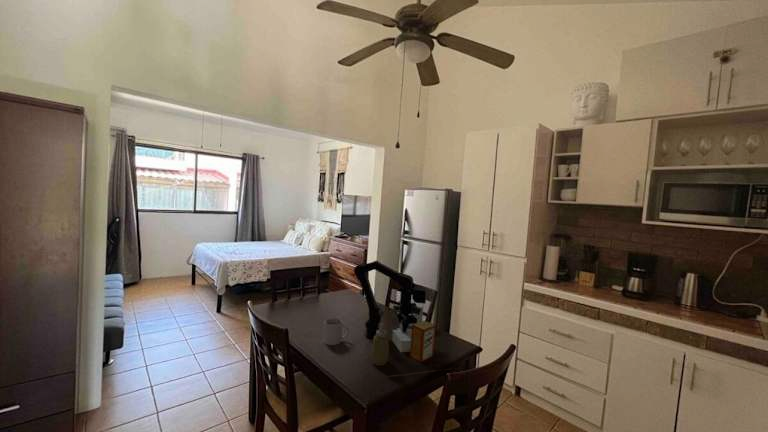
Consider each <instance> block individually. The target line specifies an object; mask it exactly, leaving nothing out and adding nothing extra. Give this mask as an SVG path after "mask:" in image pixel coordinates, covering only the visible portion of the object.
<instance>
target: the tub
mask: <svg viewBox="0 0 768 432" xmlns="http://www.w3.org/2000/svg"><path fill="white" fill-rule="evenodd" d="M392 342H393V344H394V345H395V346H396V347H397V349H398V350H399V352H400V353H408V352H409V353H410V348H411V342H406V343H401V342H400V340H399V339H398V338H397V337H396V335H395V334H394V333H393V332H392Z"/></svg>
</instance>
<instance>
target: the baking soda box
mask: <svg viewBox="0 0 768 432" xmlns="http://www.w3.org/2000/svg"><path fill="white" fill-rule="evenodd" d="M436 327H437V325H436V324H434V323H433V322H429V321H427V320H422V322H419V323H416V324H414V325H412V327H411V329H412V335H411V348H410V351H409V357H410V358H412V359H414V360H416V361H418V362H419V363H422V362H425V361H427V360H428V359H430V358H432V357H434V351H435V349H434V348H435V340H436V339H435V338H436Z"/></svg>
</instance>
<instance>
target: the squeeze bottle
mask: <svg viewBox="0 0 768 432" xmlns="http://www.w3.org/2000/svg"><path fill="white" fill-rule="evenodd" d="M387 333H388V332H387V331H386V330H385V325H384V323H383V322H380V325H379V330H377V331H376V335H375V336H374V338H373V339H372V346H371V351H370V358H371V362H372V364H373V365H375V366H378V367H379V366H385V365H386V364H387V362H388V360H389V356H390V353H389V351H390V350H389V349H390V348H389V347H390V346H389V344H390V343H389V336H388V334H387Z"/></svg>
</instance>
